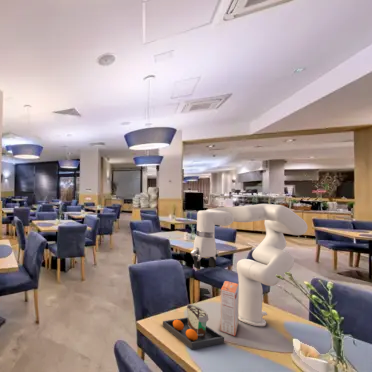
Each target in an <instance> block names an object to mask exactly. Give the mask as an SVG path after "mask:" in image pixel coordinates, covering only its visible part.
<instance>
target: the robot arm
mask: <svg viewBox="0 0 372 372" xmlns="http://www.w3.org/2000/svg"><path fill="white" fill-rule="evenodd" d="M260 221H264V228H265V237H264V238H263V240H262V241H261V242H260V243H259V244H258V245H257V246H256V247H255V248H254V250H253V251H252V253H251V257H252V259H249V258H242V259H239V260H238V261H237V263H236V266H235V267H236V273H237V278H238V279H237V280H238V284H239V304H238V321H240V322H242V323H245V324H246V325H247V324H248V325H250V326H254V327H265V326H267V321H266V320H265V319H264V318H263V317H265V316H268V313H267V311H264V310H263V294H264V291H263V286H268V287H273V286H276V285H277V284H279V283H280V282H281V281H282V279H279V278H277V277H276V276H275V275H276V274H277V275H281V276H282V277H283V278H285V276H286V275H285V274H284V273H285V272H288V273H289V272H291V270H292V268H293V267H294V264H295V258H294V256H293V254H292V253H290V252H289V251H287V250H285V249H286V247H287V240H286V237H285V235H284V234H287V235H292V236H302V235H304V234H306V233H307V232H308V229H309V228H308V224H307V222H306V221H305V220H304V219H303V218H302V217H301V216H300V215H298V214H297V213H296V212H294V211H293V210H292V209H290V208H289V207H287V206H286V205H283V204H275V203H274V204H272V203H258V204H250V205H249V204H248V205H242V206H227V207H225V206H223V207H214V208H208V209H206V210H198V211H197V214H196V236H195V237H194V241H193V242H194V243H193V248H192V251H190V255H191V258H192V260H193V267H194V268H195V269H198V270H200V269H201V265H202V263H201V259H202V258H208V266H209V267H211V268H214V269H215V268H216V263H217V259H218V257H219V253H220V250H219V249H218V248H217V245H216V238H215V234H216V233H215V231H216V230H215V229H216V227H215V226H220V227H221V226H222V227H227V226H230V225H232V224H233V223H252V222H260ZM253 259H254V260H253Z"/></svg>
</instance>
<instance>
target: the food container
mask: <svg viewBox="0 0 372 372" xmlns="http://www.w3.org/2000/svg"><path fill="white" fill-rule="evenodd" d="M186 309H187V317H188V326H189V327H190V329H193V330H194V331H195V332H196V333H197V335H198V337H204V336H205V330H206V326H207V322H208V321H209V315H208V313H207V311H205V310H204V309H203V308H201V307H199V306H196V305H193V304H187V305H186Z"/></svg>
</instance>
